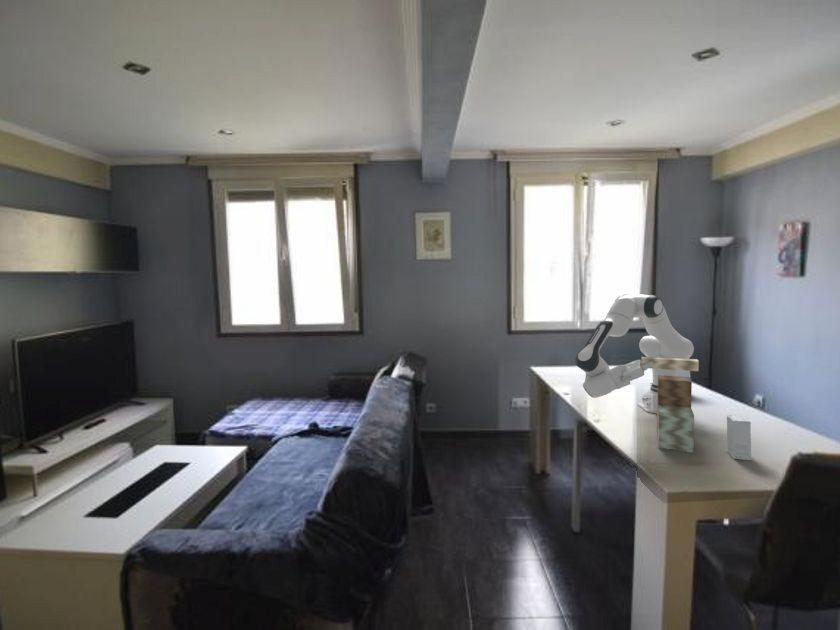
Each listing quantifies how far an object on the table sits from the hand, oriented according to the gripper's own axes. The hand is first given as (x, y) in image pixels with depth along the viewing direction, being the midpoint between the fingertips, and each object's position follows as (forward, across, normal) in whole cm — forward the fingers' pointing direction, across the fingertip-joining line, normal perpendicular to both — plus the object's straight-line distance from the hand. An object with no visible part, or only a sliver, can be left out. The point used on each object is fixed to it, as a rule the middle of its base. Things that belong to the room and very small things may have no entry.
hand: (653, 361), depth 179 cm
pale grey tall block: (-6, +91, +37) cm, 98 cm away
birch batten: (+4, 0, +5) cm, 6 cm away
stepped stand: (-10, +4, +34) cm, 36 cm away
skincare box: (+8, -3, +44) cm, 45 cm away
